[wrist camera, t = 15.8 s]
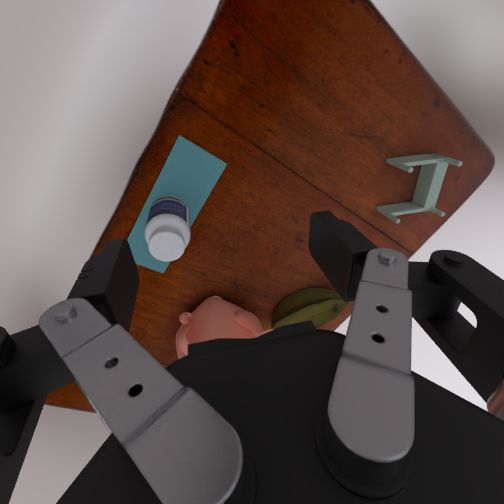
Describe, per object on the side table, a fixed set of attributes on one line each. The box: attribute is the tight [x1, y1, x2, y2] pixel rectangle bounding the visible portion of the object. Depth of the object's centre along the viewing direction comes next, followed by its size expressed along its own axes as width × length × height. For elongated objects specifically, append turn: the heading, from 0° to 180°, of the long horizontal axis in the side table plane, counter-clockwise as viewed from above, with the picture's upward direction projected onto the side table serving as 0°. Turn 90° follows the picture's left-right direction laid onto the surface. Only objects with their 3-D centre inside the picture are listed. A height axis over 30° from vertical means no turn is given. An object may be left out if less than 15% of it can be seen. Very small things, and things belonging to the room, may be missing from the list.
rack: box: [376, 153, 462, 223], centre depth 44 cm, size 9×8×5 cm
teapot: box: [176, 296, 274, 359], centre depth 48 cm, size 15×17×13 cm
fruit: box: [271, 288, 349, 329], centre depth 53 cm, size 11×12×7 cm
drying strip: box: [127, 135, 227, 273], centre depth 40 cm, size 20×7×1 cm, turn 146°
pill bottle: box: [145, 195, 190, 262], centre depth 36 cm, size 5×5×10 cm
